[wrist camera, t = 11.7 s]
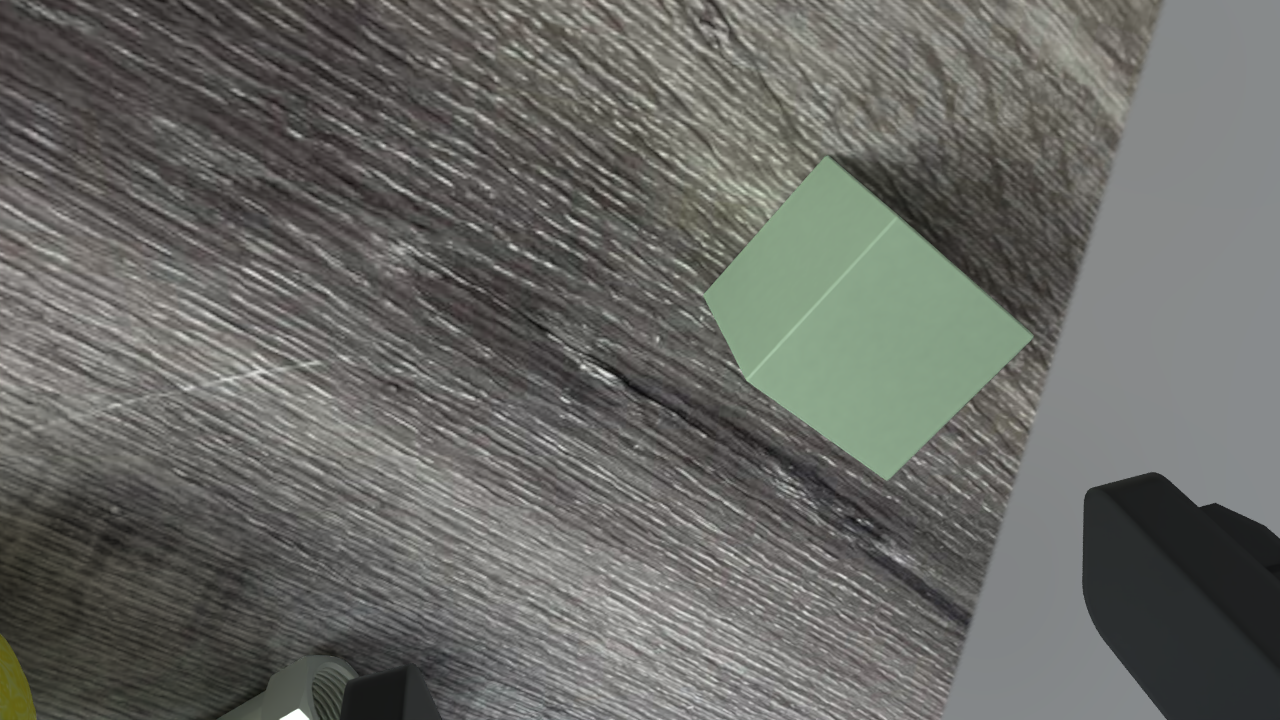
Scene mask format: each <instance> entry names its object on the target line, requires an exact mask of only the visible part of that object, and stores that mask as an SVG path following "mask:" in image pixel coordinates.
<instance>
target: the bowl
mask: <svg viewBox="0 0 1280 720" xmlns="http://www.w3.org/2000/svg"><path fill="white" fill-rule="evenodd" d="M0 720H37V719H36V710H35V707H34V704H33V699H32V694H31V691H30V687H29V684H28V681H27V678H26V676H25V674H24V672H23V670H22V668H21V666H20V663H19V661H18V659H17V657H16V655H15V653H14V652H13V650H12V648H11V646H10V645H9V643H8V642H7V641H6V639H5V638H4V637H3V636H2V635H1V634H0Z"/></svg>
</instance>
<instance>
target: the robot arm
mask: <svg viewBox="0 0 1280 720" xmlns="http://www.w3.org/2000/svg"><path fill="white" fill-rule="evenodd" d="M1083 524H1084V525H1083V527H1084V528H1083V576H1082V585H1083V594H1084V598H1085V603H1086V606H1087V609H1088V612H1089V614H1090V617H1091V619H1092V621H1093V623H1094V625H1095V627H1096V629H1097V630H1098V632H1099V634H1100V636H1101V637H1102V638H1103V640H1104V641H1105V642H1106V644H1107V645H1108V646H1109V647H1110V649H1111V650H1112V651H1113V652H1114V654H1115V655H1116V656H1117V658H1118V659H1119V660H1120V661H1121V662H1122V664H1123V665H1124V666H1125V668H1126V669H1127V670H1128V671H1129V673H1130V674H1131V675H1132V676H1133V678H1134V679H1135V680H1136V681H1137V683H1138V684H1139V685H1140V686H1141V688H1142V689H1143V690H1144V691H1145V693H1146V694H1147V695H1148V697H1149V698H1150V699H1151V700H1152V702H1153V703H1154V704H1155V705H1156V707H1157V708H1158V709H1159V710H1160V712H1161V713H1162V714H1163V715H1164V717H1165V718H1166V719H1167V720H1280V538H1278V537H1277V536H1276V535H1275V534H1274V533H1273V532H1271V531H1270V530H1269V529H1268V528H1267V527H1266V526H1264V525H1262V524H1260V523H1258V522H1256V521H1253V520H1251V519H1249V518H1247V517H1245V516H1243V515H1241V514H1238V513H1236V512H1234V511H1232V510H1230V509H1228V508H1225V507H1223V506H1221V505H1219V504H1217V503H1213V504H1210V505H1206V506H1202V507H1197V505H1196V504H1194V503H1193V502H1192V501H1191V500H1190V499H1189V498H1188V497H1187V496H1186V495H1185V494H1183V493H1182V492H1181V491H1180V490H1179V489H1178V488H1177V487H1176V486H1175V485H1174V484H1172V483H1171V482H1170V481H1169V480H1168V479H1167V478H1165V477H1164V476H1162V475H1161V474H1158V473H1155V472H1151V473H1147V474H1143V475H1139V476H1135V477H1131V478H1127V479H1124V480H1120V481H1116V482H1112V483H1108V484H1105V485H1101V486H1097V487H1093V488H1091V489H1089V490H1088V491H1087V493H1086V495H1085V499H1084V523H1083ZM340 720H442V718H441V716H440V714H439V712H438V709H437V707H436V705H435V702H434V700H433V698H432V696H431V693H430V691H429V689H428V687H427V684H426V682H425V680H424V677H423V675H422V673H421V671H420V670H419V668H418V667H417V666H416V665H415V664H414V663H412V664H408V665H404V666H400V667H396V668H392V669H388V670H385V671H381V672H377V673H373V674H369V675H366V676H362V677H358V678H354V679H351V680H349V681H348V683H347V684H346V687H345V690H344V695H343V701H342V707H341V714H340Z"/></svg>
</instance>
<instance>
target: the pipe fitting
mask: <svg viewBox="0 0 1280 720" xmlns="http://www.w3.org/2000/svg"><path fill="white" fill-rule="evenodd" d="M358 677H360V676H359V675H358V674H357V672H356V671H355V670H354V669H353V668H352V667H351V666H350V665H349V664H348V663H347V662H346V661H345V660H343V659H341V658H338V657H333V656H326V655H309V656H304V657H303V658H301V659H299V660H297V661H296V662H294V663H292V664H291V665H289V666H287V667H286V668H284V669H282V670H281V671H279V672H277V673H275V674H274V675H272V676H271V677H270V680H269V683H268V686H267V689H266V691H264V692H262V693H261V694H259V695H257V696H256V697H254V698H252V699H250V700H249V701H247V702H245V703H244V704H242V705H240V706H239V707H237V708H235V709H233V710H232V711H230V712H228V713H227V714H225V715H223V716H221V717H220V718H218V719H216V720H340V714H341V707H342V701H343V695H344V690H345V687H346V684H347V683H348V681H349V680H351V679H354V678H358Z"/></svg>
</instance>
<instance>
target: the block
mask: <svg viewBox="0 0 1280 720" xmlns="http://www.w3.org/2000/svg"><path fill="white" fill-rule="evenodd" d="M703 296H704V298H705V300H706V302H707V304H708V306H709V308H710V310H711V312H712V314H713V316H714V318H715V320H716V322H717V324H718V326H719V328H720V330H721V331H722V333H723V335H724V337H725V339H726V341H727V343H728V345H729V347H730V349H731V351H732V353H733V355H734V357H735V359H736V361H737V363H738V365H739V367H740V369H741V371H742V373H743V375H744V377H745V379H746V380H747V381H748V382H749V383H751V384H752V385H753V386H755V387H756V388H757V389H759V390H760V391H762V392H763V393H764V394H766V395H767V396H769V397H770V398H771V399H773V400H774V401H776V402H777V403H778V404H780V405H781V406H783V407H784V408H785V409H787V410H788V411H790V412H791V413H792V414H794V415H795V416H797V417H798V418H799V419H801V420H802V421H804V422H805V423H806V424H808V425H809V426H811V427H812V428H813V429H815V430H816V431H818V432H819V433H820V434H822V435H823V436H825V437H826V438H827V439H829V440H830V441H832V442H833V443H834V444H836V445H837V446H839V447H840V448H841V449H843V450H844V451H846V452H847V453H848V454H850V455H851V456H853V457H854V458H855V459H857V460H858V461H860V462H861V463H862V464H864V465H865V466H867V467H868V468H869V469H871V470H872V471H874V472H875V473H876V474H878V475H879V476H881V477H882V478H883V479H885V480H889V479H890V478H891V477H892V476H893V475H894V474H895V473H896V472H897V471H898V470H899V469H901V468H902V467H903V466H904V465H905V464H906V463H907V462H908V461H909V460H910V459H911V458H912V457H913V456H914V455H915V454H916V453H917V452H918V451H919V450H920V449H921V448H922V447H923V446H924V445H925V444H926V443H927V442H928V441H929V440H930V439H931V438H932V437H933V436H934V435H935V434H936V433H937V432H938V431H939V430H940V429H941V428H942V427H943V426H944V425H945V424H946V423H947V422H948V421H949V420H950V419H951V418H952V417H954V416H955V415H956V414H957V413H958V412H959V411H960V410H961V409H962V408H963V407H964V406H965V405H966V404H967V403H968V402H969V401H970V400H971V399H972V398H973V397H974V396H975V395H976V394H977V393H978V392H979V391H980V390H981V389H982V388H983V387H984V386H985V385H986V384H987V383H988V382H989V381H990V380H991V379H992V378H993V377H994V376H995V375H996V374H997V373H998V372H999V371H1000V370H1001V369H1002V368H1003V367H1004V366H1005V365H1006V364H1008V363H1009V362H1010V361H1011V360H1012V359H1013V358H1014V357H1015V356H1016V355H1017V354H1018V353H1019V352H1020V351H1021V350H1022V349H1023V348H1024V347H1025V346H1026V345H1027V344H1028V343H1029V342H1030V341H1031V340H1032V339H1033V338H1034V336H1033V334H1032V333H1031V332H1030V331H1029V330H1028V329H1027V328H1026V327H1024V326H1023V325H1022V324H1021V323H1020V322H1019V321H1018V320H1016V319H1015V318H1014V317H1013V316H1012V315H1011V314H1010V313H1009V312H1007V311H1006V310H1005V309H1004V308H1003V307H1002V306H1001V305H999V304H998V303H997V302H996V301H995V300H994V299H993V298H992V297H990V296H989V295H988V294H987V293H986V292H985V291H984V290H983V289H981V288H980V287H979V286H978V285H977V284H976V283H975V282H973V281H972V280H971V279H970V278H969V277H968V276H967V275H966V274H964V273H963V272H962V271H961V270H960V269H959V268H958V267H956V266H955V265H954V264H953V263H952V262H951V261H950V260H949V259H947V258H946V257H945V256H944V255H943V254H942V253H941V252H940V251H938V250H937V249H936V248H935V247H934V246H933V245H932V244H930V243H929V242H928V241H927V240H926V239H925V238H924V237H923V236H921V235H920V234H919V233H918V232H917V231H916V230H915V229H913V228H912V227H911V226H910V225H909V224H908V223H907V222H906V221H904V220H903V219H902V218H901V217H900V216H899V215H898V214H896V213H895V212H894V211H893V210H892V209H891V208H889V207H888V206H887V205H886V204H885V203H884V202H882V201H881V200H880V199H879V198H878V197H877V196H875V195H874V194H873V193H872V192H871V191H870V190H868V189H867V188H866V187H865V186H864V185H863V184H861V183H860V182H859V181H858V180H857V179H856V178H854V177H853V176H852V175H851V174H850V173H849V172H847V171H846V170H845V169H844V168H843V167H842V166H840V165H839V164H838V163H837V162H836V161H835V160H833V159H832V158H831V157H830V156H828V155H826V156H825V157H824V158H823V159H822V160H821V162H820V163H819V164H818V165H817V166H816V167H815V168H814V170H813V171H812V172H811V173H810V174H809V175H808V176H807V178H806V179H805V180H804V181H803V182H802V183H801V184H800V185H799V187H798V188H797V189H796V190H795V191H794V192H793V193H792V195H791V196H790V197H789V198H788V199H787V200H786V201H785V203H784V204H783V205H782V206H781V207H780V208H779V209H778V210H777V212H776V213H775V214H774V215H773V216H772V217H771V218H770V220H769V221H768V222H767V223H766V224H765V225H764V226H763V228H762V229H761V230H760V231H759V232H758V233H757V234H756V235H755V237H754V238H753V239H752V240H751V241H750V242H749V243H748V245H747V246H746V247H745V248H744V249H743V250H742V251H741V253H740V254H739V255H738V256H737V257H736V258H735V259H734V260H733V262H732V263H731V264H730V265H729V266H728V267H727V268H726V270H725V271H724V272H723V273H722V274H721V275H720V276H719V278H718V279H717V280H716V281H715V282H714V283H713V284H712V285H711V287H710V288H709V289H708V290H707V291H706V292H705V293H704V295H703Z"/></svg>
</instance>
